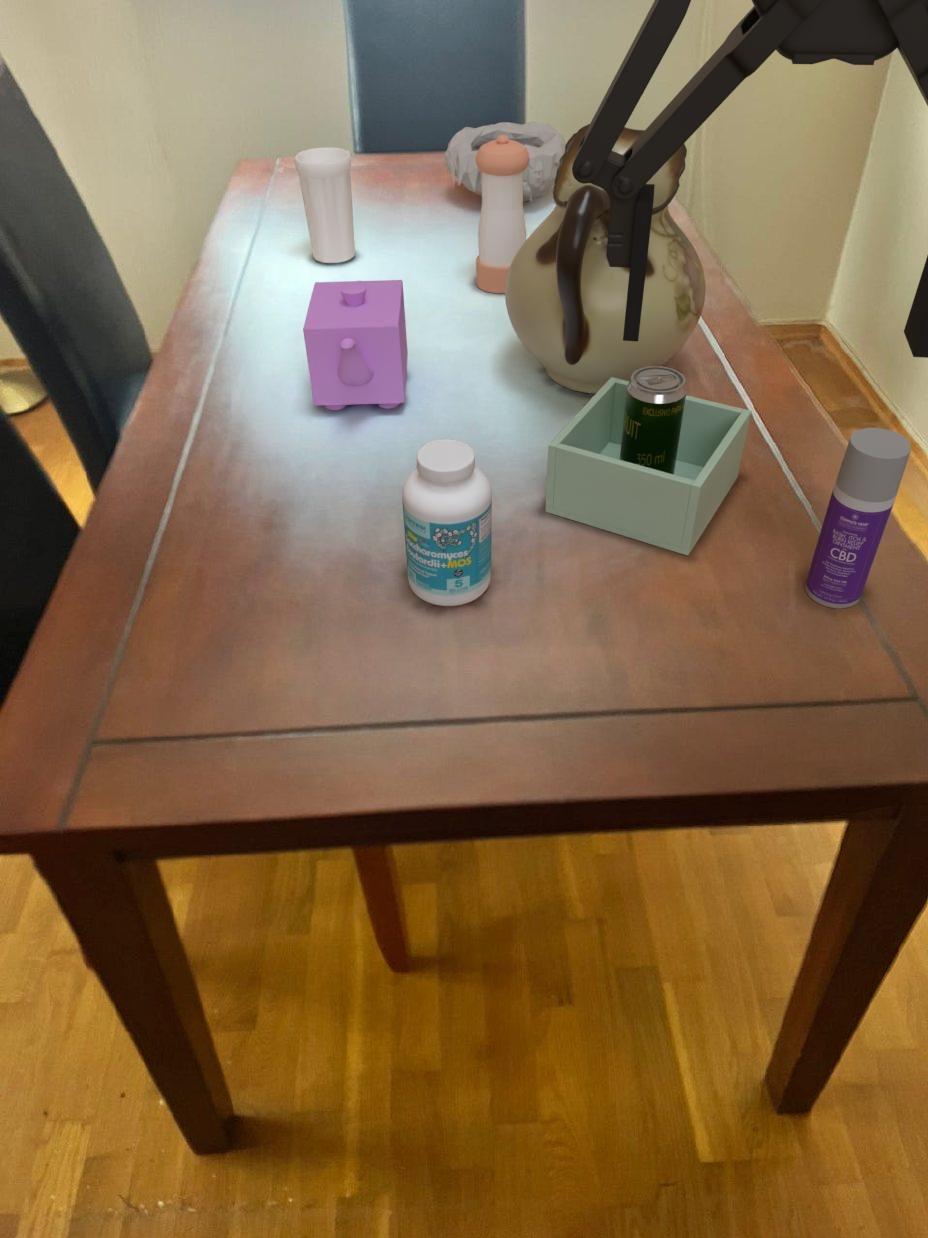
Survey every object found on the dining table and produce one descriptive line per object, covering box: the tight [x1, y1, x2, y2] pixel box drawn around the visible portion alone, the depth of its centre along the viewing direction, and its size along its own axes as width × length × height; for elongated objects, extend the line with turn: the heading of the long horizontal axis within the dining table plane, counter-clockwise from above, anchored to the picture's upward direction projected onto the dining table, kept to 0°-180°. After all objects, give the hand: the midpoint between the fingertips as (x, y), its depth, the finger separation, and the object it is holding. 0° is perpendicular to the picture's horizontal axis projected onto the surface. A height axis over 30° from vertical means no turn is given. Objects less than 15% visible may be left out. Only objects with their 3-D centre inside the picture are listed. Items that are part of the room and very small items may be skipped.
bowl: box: [444, 121, 567, 203], centre depth 154 cm, size 21×20×10 cm
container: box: [804, 427, 912, 609], centre depth 76 cm, size 5×5×15 cm
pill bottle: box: [401, 438, 493, 607], centre depth 78 cm, size 8×7×14 cm
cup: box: [293, 146, 356, 264], centre depth 135 cm, size 8×8×14 cm
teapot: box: [302, 279, 409, 411], centre depth 104 cm, size 20×10×12 cm, turn 1°
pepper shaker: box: [475, 135, 530, 294], centre depth 125 cm, size 7×7×19 cm
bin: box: [545, 377, 752, 556], centre depth 90 cm, size 15×15×8 cm
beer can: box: [620, 365, 688, 475], centre depth 88 cm, size 5×5×12 cm
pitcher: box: [504, 123, 707, 395], centre depth 102 cm, size 22×24×25 cm
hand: (770, 337), depth 46 cm, fingers open, 13 cm apart
